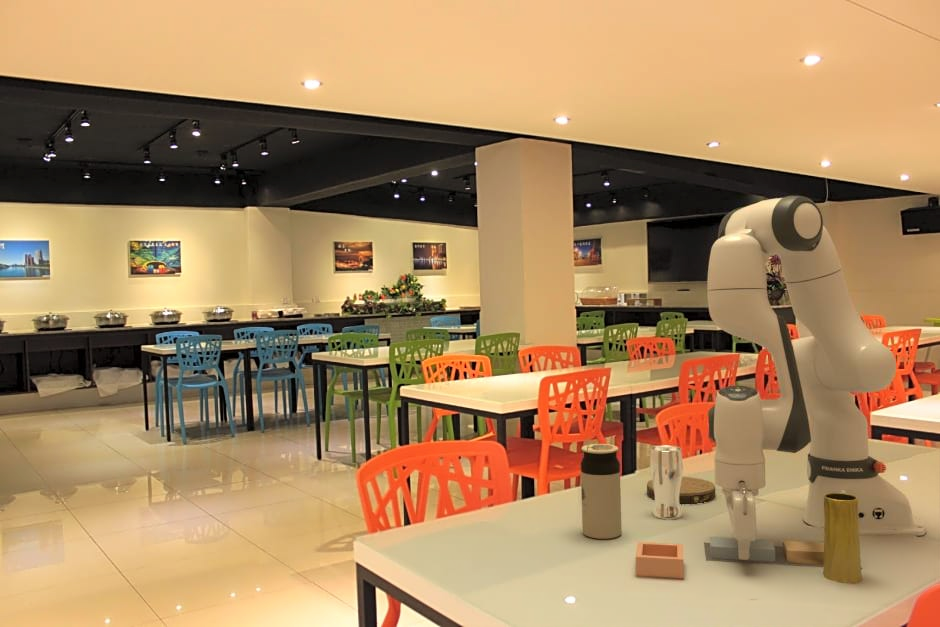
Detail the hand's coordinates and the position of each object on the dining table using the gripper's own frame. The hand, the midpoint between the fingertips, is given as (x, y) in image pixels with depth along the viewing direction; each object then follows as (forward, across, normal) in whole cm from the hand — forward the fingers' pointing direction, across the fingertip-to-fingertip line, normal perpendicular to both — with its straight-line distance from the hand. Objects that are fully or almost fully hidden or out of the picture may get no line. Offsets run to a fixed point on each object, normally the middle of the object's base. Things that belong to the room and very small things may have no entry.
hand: (741, 549), depth 141 cm
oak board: (+1, 0, -13) cm, 13 cm away
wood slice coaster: (+2, +42, +10) cm, 43 cm away
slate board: (+1, 0, 0) cm, 1 cm away
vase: (+2, -8, -16) cm, 18 cm away
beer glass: (+2, +25, +14) cm, 28 cm away
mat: (+2, +1, -6) cm, 7 cm away
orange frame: (+2, -10, +14) cm, 18 cm away
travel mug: (+2, +10, +26) cm, 28 cm away
